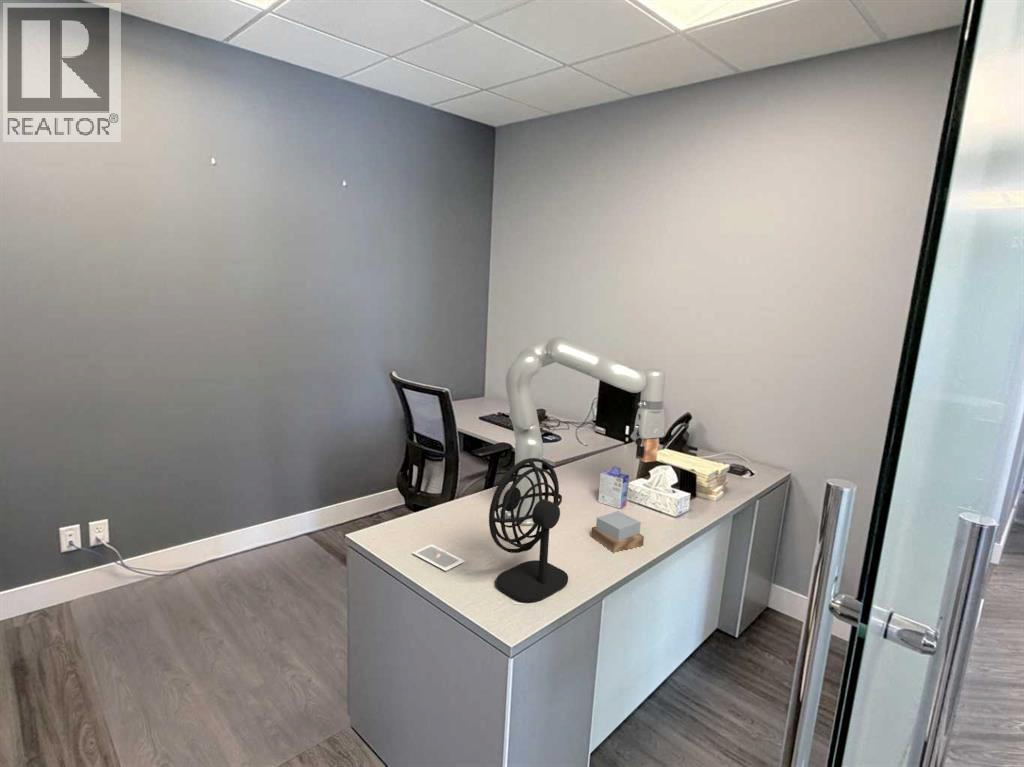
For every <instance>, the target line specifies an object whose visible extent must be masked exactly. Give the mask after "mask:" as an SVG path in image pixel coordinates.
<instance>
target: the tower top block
mask: <svg viewBox="0 0 1024 767" xmlns="http://www.w3.org/2000/svg"><path fill="white" fill-rule="evenodd" d="M641 523H642V522H641V521H639V520H637V519H635V518H633V517H631V516H629V515H628V514H625V513H623V512H621V511H613V512H611V513H607V514H604V515H602V516H597V517H596V526H595V527H596V529H597V530H599V531H601V532H603V533H604V534H606V535H608V536H610V537H612V538H614V539H615V540H617V541H620V540H623V539H626V538H629V537H631V536H634V535H637V534H641Z"/></svg>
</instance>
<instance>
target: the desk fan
mask: <svg viewBox="0 0 1024 767" xmlns="http://www.w3.org/2000/svg"><path fill="white" fill-rule="evenodd" d="M534 462H541V463H542V465H544V466H545V467H546V468H547V469H544V468H543V467H542V468H538V467H537V466H536V465H535V464H534ZM527 463H529V464H527ZM527 467H532V468H533V469H530V470H527V471H526V472H524V473H523V474H519V475H518V472H519V470H520V469H523V468H527ZM538 471H539V473H540V474H541V479H542V480H543V482H542V480H541V481H540V476H539V473H538ZM532 472H535V475H536V479H537V484H535V485H534V483H533V481H532V480H531V479H530V478H529V477H528V476H527V475H528V474H530V473H532ZM514 473H515V474H514ZM546 474H547V475H548V477H549V478H550V480H551V482H552V485H553V487H554V488H553V487H552V486H551V485H550V484H549V482H548V479H547V475H546ZM517 477H518V478H517ZM524 477H526V478H527V479H528V480H529V481H530V483H531V485H532V487H530V488H529V489H528V490H527V491H526V493H525V494H524V496H521V493H520V490H519V489H518V488H517V487H516V486H517V484H518V483H519V482H520V481H521V480H522V479H523V478H524ZM558 479H559V478H558V475H557V474H556V471H555V469H554V468H553V466H552V465H551V464H550V463H548V462H547V461H545V459H544V460H543V459H542V460H541V459H538V458H529V459H525V460H522V461H520V462H519V463H517V464H516V465H515V464H514V465H513V466H512V467H511V468H509V470H508V471H507V472H506V473H505V474H504V475H503V477H502V478H501V480H500V481H499V483H498V484H497V486H496V489H495V491H494V493H493V496H492V499H491V502H490V508H489V513H488V527H489V532H490V535H491V537H492V540H493V543H495V544H496V545H497V547H498V548H500V549H501V550H503V551H504V552H507V553H510V554H520V553H523V552H528V551H530V550H532V549H533V548H534V546H536V544H537V543H538V542H539V541H540V542H539V555H538V556H539V558H538V560H527V561H524V562H521V563H519V564H517V565H515V566H513V567H510V568H508V569H506V570H504V571H502V572H500V573H499V574H498V575H497V576H496V578H495V585H496V588H497V589H499V590H500V591H501V592H503V593H505V594H506V595H508V596H510V597H511V598H513V599H514V600H516V601H520V602H529V603H531V602H538V601H540V600H543V599H545V598H547V597H548V596H551V595H552V594H554V593H556V592H557V591H560V590H561V589H563V588H564V587H565V586H566V585H567V584H568V582H569V574H568V573H567V572H566V571H565V570H563V569H561V568H559V567H557V566H555V565H553V564H552V563H549V562H548V561H549V560H548V558H549V545H550V544H549V543H550V542H549V540H550V529H553V528H554V527H555V526H556V525H557V524H558V522H559V520H560V517H561V516H560V515H561V508H560V507H559V506H560V505H561V504H562V501H563V496H562V495H561V494H560V487H559V480H558ZM510 482H512V483H511V485H510V487H509V488H508V489H507V491H506V492H505V493H504V494H503V492H504V491H505V488H506V487H507V486H508V485H509V483H510ZM537 486H538V490H539V493H535V487H537ZM542 486H544V492H543V489H542ZM532 489H533V494H529V492H530V491H531V490H532ZM549 490H550V491H549ZM528 494H529V495H528ZM502 495H503V498H502V503H500V499H501V497H502ZM537 496H539V502H538V503H537V504H536V505H535V507H534V509H533V512H532V515H529V514H530V512H531V510H532V508H533V505H534V501H535V497H537ZM531 497H532V502H531V505H530V508H529V510H528V512H527V514H526V515H525V516H523V517H519V515H520V510H521V506H522V504H523V501H524V499H526V498H531ZM543 497H544V498H543ZM549 497H553V501H551V500H549ZM520 500H521V501H520ZM519 502H520V503H519ZM518 504H519V506H518ZM517 506H518V510H517V516H516V518H514V509H515V508H516V507H517ZM499 509H500V510H501V515H499V514H500V512H499ZM505 511H511V518H510V519H509V518H506V515H505ZM495 516H496V517H495ZM531 518H532V520H533V522H534V525H531V526H530V529H528V530H527V531H526V532H525V533H524V532H523V530H522V527H521V525H520V524H521V523H522V522H523V521H524V520H527V519H531ZM515 522H517V523H515ZM496 523H499V524H500V529H501V532H502V534H501V533H500V532H499V529H498V527H497V524H496ZM507 523H508V524H510V523H511V524H510V525H508V524H507ZM506 528H511V529H512V533H513V536H514V538H510V536H508V535H509V534H508V533H507V530H506ZM517 530H518V531H519V533H520V534H521V536H519V535H518V532H517ZM535 530H536V532H535V534H532V533H533V532H534V531H535ZM527 538H529V539H532V540H530V541H528V542H525V543H522V542H521V541H523V540H525V539H527ZM499 539H501V540H502V541H504V542H506V543H508V544H510V545H513V546H514V547H517V548H508V547H505V546H504V545H503V544H502V543H501V541H500V540H499Z"/></svg>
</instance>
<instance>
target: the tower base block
mask: <svg viewBox="0 0 1024 767" xmlns="http://www.w3.org/2000/svg"><path fill="white" fill-rule="evenodd" d="M590 537H592V538H591V539H593V540H594V541H596V542H597V543H598V542H599V543H598V544H599V545H601V544H602V545H603V546H602V545H601V546H602V547H604V548H605V547H606V548H607V550H608V551H609V550H610V551H609V552H611V553H612V552H613V553H612V554H616V553H615V552H617V553H620V552H619V551H622V552H624V551H623V550H626V551H629V550H628V549H630V550H634V549H633V548H635V549H638V548H637V547H639V548H642V547H641V546H643V547H644V541H645V536H644V535H642V534H641V533H640V534H637V535H634V536H631V537H629V538H626V539H623V540H620V541H617V540H615V539H614V538H612V537H610V536H608V535H606V534H604V533H603V532H601V531H599V530H597V529H596V526H592V527H591V533H590ZM606 548H605V549H606Z"/></svg>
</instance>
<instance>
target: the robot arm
mask: <svg viewBox="0 0 1024 767" xmlns="http://www.w3.org/2000/svg"><path fill="white" fill-rule="evenodd" d="M555 363H557V364H559V365H561V366H564V367H566V368H569V369H571V370H574V371H576V372H579V373H581V374H584V375H586V376H589V377H592V378H593V379H596V380H598V381H601V382H603V383H606V384H608V385H611V386H613V387H615V388H619V389H620V390H623V391H626V392H627V393H628V392H629V393H632V394H636V393H637V394H638V393H640V399H639V400H640V401H639V402H638V403H637V406H638V409H637V412H636V415H635V420H634V422H635V423H634V428H633V429H634V430H633V431H632V432H631V434H630V436H629V437H630V438H631V439H632V441H633V442H634V443H635V445H636V450H637V452H635V456H636V455H637V456H639V457H641V458H643V457H644V446H643V445H644V442H645V439H652V438H658V439H659V440H658V446H659V445H660V442H661V441H662V439H663V438H664V437H666V434H667V433H666V432H665V427H666V415H665V410H664V408H663V404H664V396H665V394H664V393H665V385H666V372H665V371H664V370H663V369H658V368H640V367H635V366H626V365H623V364H621V363H619V362H617V361H614V360H613V359H611V358H609V357H607V355H604V354H603V353H601V352H598V351H596V350H594V349H592V348H591V349H590V348H588V347H587V346H584V345H581V344H578V343H577V342H576V343H575V342H572V341H571V340H568V339H567V338H565V337H562V336H555V337H552V338H550V339H547V340H544V341H542V342H540V343H537V344H533V345H531V346H529V347H526V348H524V349H522V350H521V351H520V352H519V353H518V355H517V358H516V359H515V360H514V361H513V362H512V363H511V364H510V366H509V368H508V370H507V372H506V374H505V390H506V397H507V403H508V408H509V417H510V421H511V422H512V428H513V433H514V438H515V448H514V450H515V451H514V452H515V453H514V465H516V464H517V463H519V462H520V461H522V460H525V459H529V458H538V459H541V460H543V457H544V442H543V439H542V433H541V427H540V422H539V417H538V412H537V406H536V404H535V403H534V398H533V392H532V387H531V381H532V379H533V378H534V377H535V376H537V374H538V373H540V370H541V369H542V368H544V367H547V366H549V365H552V364H555ZM640 440H641V441H640ZM527 464H529V463H527ZM534 464H535V465H536V466H537V467H538V468H542V469H543V463H541V462H534ZM530 469H533V468H532V467H527V468H523V469H520V470H519V472H518V475H519V474H523V473H524V472H526V471H527V470H530ZM538 473H539V471H538ZM514 474H515V473H514ZM514 474H513V475H514ZM527 476H528V477H529V478H530V479H531V480H532V481H533V483H534V485H535V484H537V479H536V475H535V472H532V473H530V474H528V475H527ZM539 476H540V481H541V482H542V476H541V474H540V473H539ZM517 478H518V477H517ZM516 487H517V488H518V489H519V490H520V493H521V496H524V494H525V493H526V491H527V490H528V489H529V488H530V487H532V485H531V483H530V481H529V480H528V479H527V478H526V477H524V478H523V479H522V480H521V481H520V482H519V483H518V484H517V486H516ZM535 493H539V490H538V486H537V487H535ZM529 494H533V489H532V490H531V491H530V492H529ZM529 494H528V495H529ZM520 501H521V500H520ZM531 502H532V497H531V498H526V499H524V501H523V504H522V506H521V510H520V515H519V517H523V516H525V515H526V514H527V512H528V510H529V508H530V505H531ZM538 502H539V496H537V497H535V501H534V505H533V508H532V510H531V512H530V514H529V515H532V512H533V509H534V507H535V505H536V504H537V503H538ZM519 503H520V502H519ZM518 506H519V504H518ZM518 506H517V507H516V508H515V509H514V518H516V516H517V510H518ZM501 510H502V509H500V511H499V514H500V515H499V516H501ZM505 517H506V518H507V519H510V518H511V511H505ZM516 523H517V522H515V524H516ZM533 525H534V522H533V520H532V518H531V519H527V520H524V521H523V522H522V523H521V524H520V526H533Z"/></svg>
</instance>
